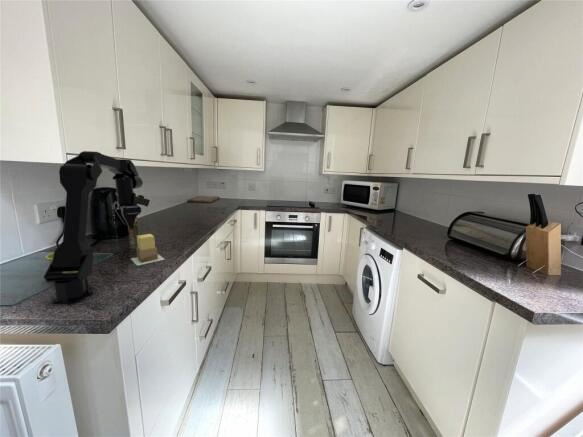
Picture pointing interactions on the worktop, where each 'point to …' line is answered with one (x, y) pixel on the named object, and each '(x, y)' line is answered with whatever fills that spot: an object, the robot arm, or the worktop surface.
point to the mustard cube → (145, 241)
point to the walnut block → (147, 254)
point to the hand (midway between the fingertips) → (128, 226)
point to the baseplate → (147, 261)
